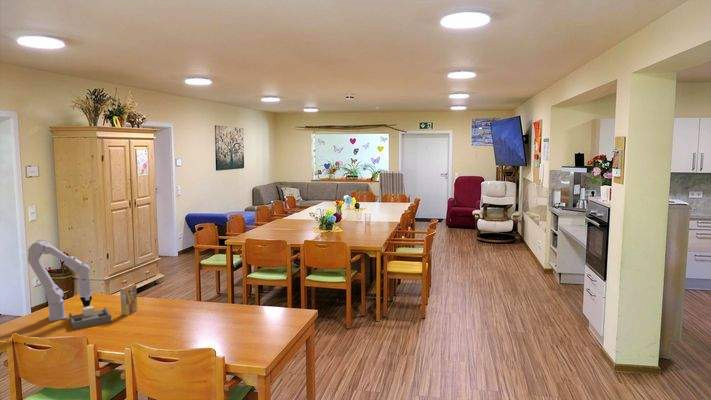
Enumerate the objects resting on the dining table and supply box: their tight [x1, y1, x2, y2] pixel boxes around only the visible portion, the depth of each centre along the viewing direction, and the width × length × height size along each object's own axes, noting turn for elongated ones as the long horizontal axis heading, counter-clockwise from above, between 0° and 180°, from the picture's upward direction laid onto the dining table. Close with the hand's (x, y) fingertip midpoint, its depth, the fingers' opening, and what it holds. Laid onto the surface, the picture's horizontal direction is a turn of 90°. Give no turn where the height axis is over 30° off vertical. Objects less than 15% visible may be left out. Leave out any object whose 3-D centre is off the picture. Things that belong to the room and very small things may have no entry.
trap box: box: [68, 306, 112, 330], centre depth 266 cm, size 17×18×4 cm
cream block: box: [81, 305, 95, 317], centre depth 270 cm, size 5×5×4 cm
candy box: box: [119, 283, 139, 316], centre depth 277 cm, size 9×4×15 cm, turn 166°
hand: (86, 309), depth 275 cm, fingers closed
